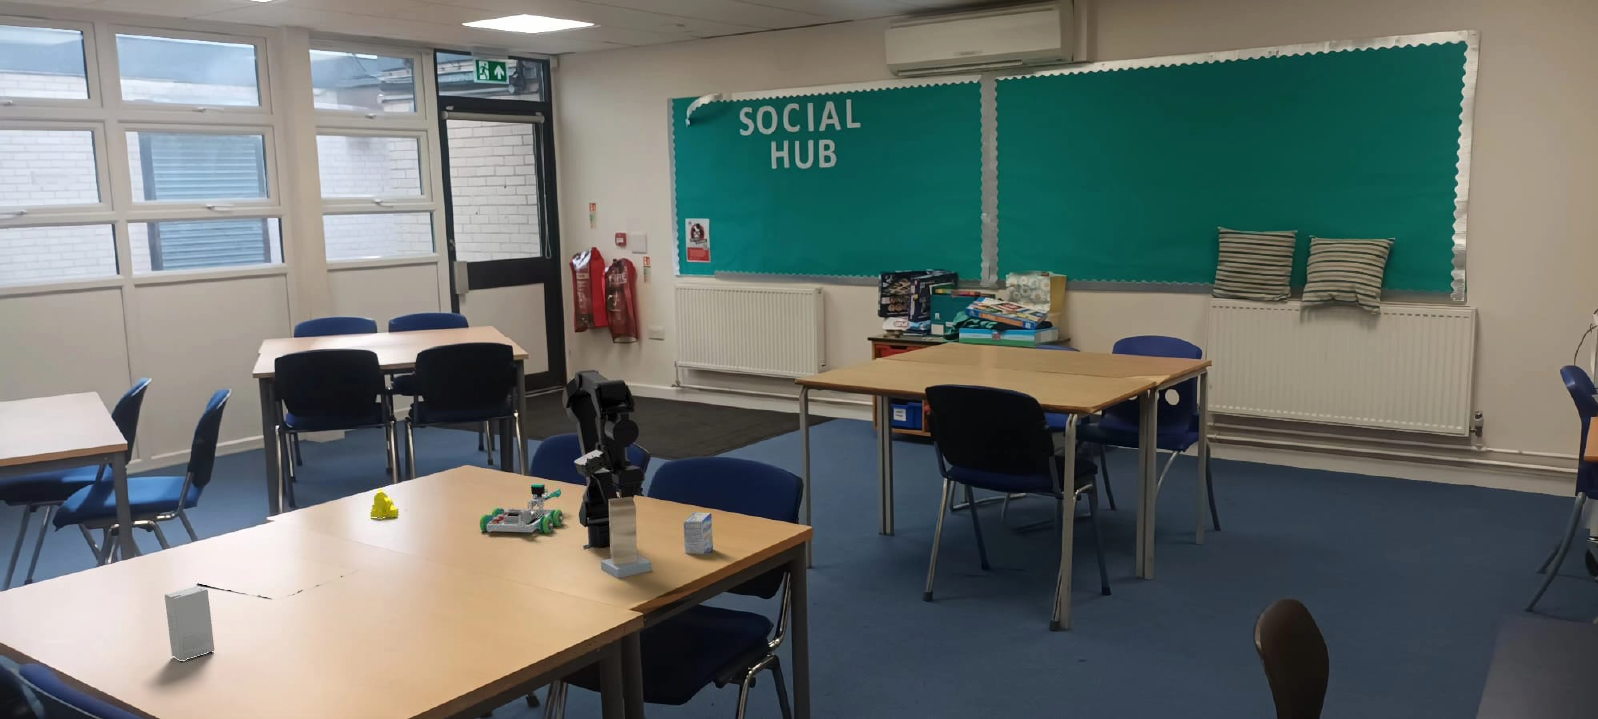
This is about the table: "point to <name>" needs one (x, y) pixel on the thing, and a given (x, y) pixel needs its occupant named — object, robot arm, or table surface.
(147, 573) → the table surface
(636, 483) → the robot arm
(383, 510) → the yellow lumpy cone
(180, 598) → the skincare box
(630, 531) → the tall beech block
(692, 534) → the medicine box
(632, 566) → the tower top slab
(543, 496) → the robot kit
